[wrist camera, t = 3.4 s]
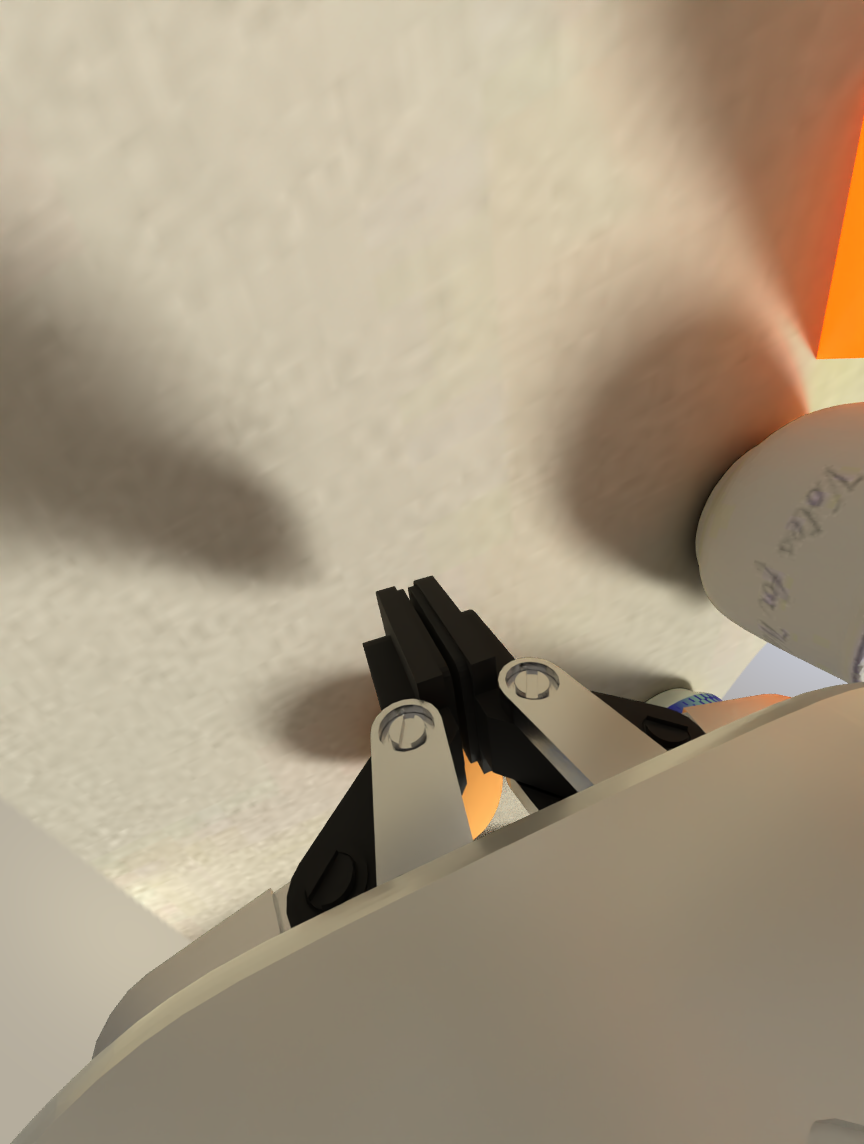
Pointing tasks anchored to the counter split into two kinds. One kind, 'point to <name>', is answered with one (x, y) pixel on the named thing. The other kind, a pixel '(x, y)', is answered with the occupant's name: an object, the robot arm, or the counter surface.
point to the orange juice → (848, 277)
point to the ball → (480, 796)
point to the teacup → (794, 540)
